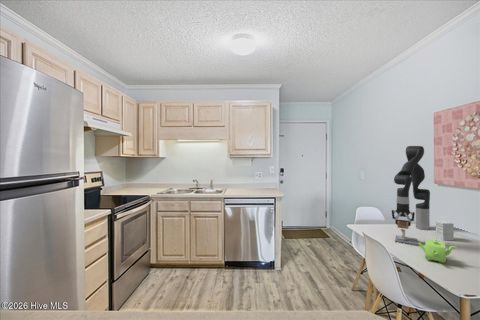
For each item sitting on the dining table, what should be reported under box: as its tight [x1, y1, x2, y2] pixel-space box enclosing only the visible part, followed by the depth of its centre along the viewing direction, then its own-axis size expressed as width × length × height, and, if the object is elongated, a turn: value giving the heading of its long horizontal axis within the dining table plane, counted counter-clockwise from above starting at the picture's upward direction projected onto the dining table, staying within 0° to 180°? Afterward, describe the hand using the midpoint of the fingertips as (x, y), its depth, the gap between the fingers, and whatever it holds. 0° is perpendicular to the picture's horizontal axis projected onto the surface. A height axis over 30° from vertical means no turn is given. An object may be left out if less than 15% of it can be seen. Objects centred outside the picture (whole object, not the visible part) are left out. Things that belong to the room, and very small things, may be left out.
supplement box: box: [435, 220, 455, 241], centre depth 174 cm, size 7×7×13 cm
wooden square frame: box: [397, 219, 409, 230], centre depth 171 cm, size 6×6×4 cm
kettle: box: [418, 238, 456, 264], centre depth 141 cm, size 15×14×11 cm
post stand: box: [394, 228, 419, 247], centre depth 171 cm, size 13×13×8 cm
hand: (402, 225), depth 171 cm, fingers closed on wooden square frame, 6 cm apart
